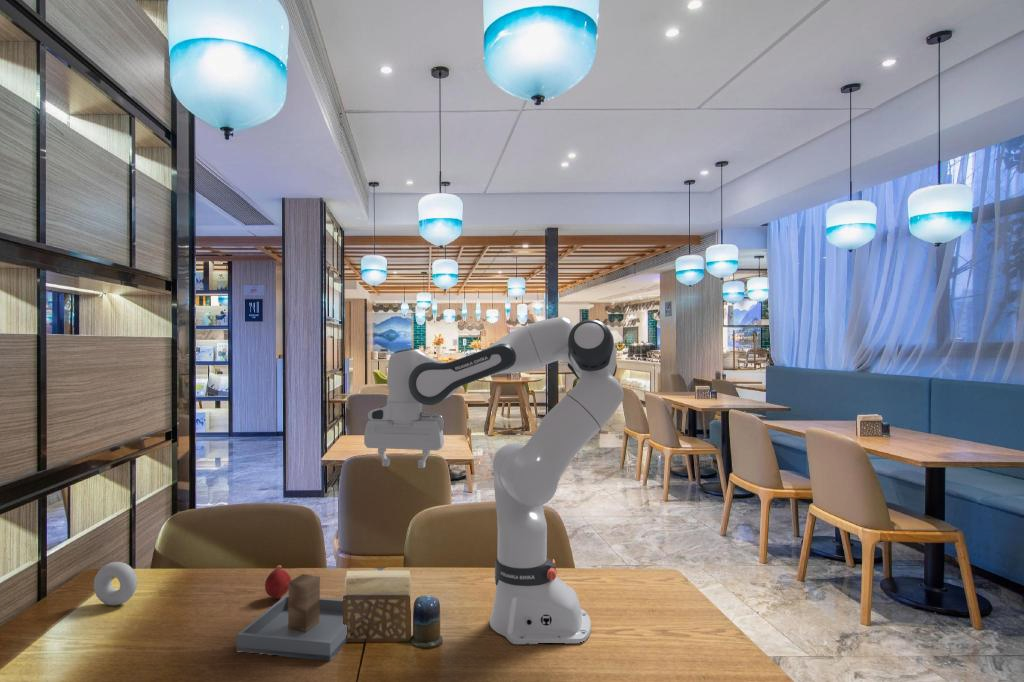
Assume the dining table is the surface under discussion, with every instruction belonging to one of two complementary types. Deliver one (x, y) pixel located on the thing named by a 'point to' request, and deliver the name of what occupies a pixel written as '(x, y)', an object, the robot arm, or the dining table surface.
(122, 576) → the donut
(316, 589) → the walnut block
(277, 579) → the onion
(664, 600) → the dining table surface
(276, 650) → the tray
